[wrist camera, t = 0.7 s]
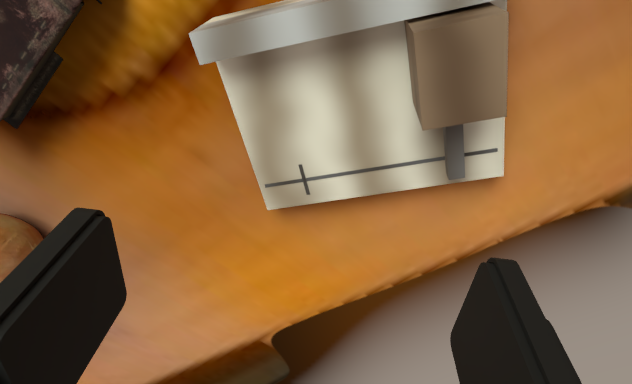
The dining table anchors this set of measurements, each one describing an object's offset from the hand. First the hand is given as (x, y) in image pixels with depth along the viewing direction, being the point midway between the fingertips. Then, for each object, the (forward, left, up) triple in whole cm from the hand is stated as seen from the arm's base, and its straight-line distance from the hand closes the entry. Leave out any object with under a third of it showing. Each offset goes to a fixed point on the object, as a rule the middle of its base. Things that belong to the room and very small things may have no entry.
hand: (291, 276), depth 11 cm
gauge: (-8, +4, -22) cm, 23 cm away
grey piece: (-2, +4, -24) cm, 25 cm away
